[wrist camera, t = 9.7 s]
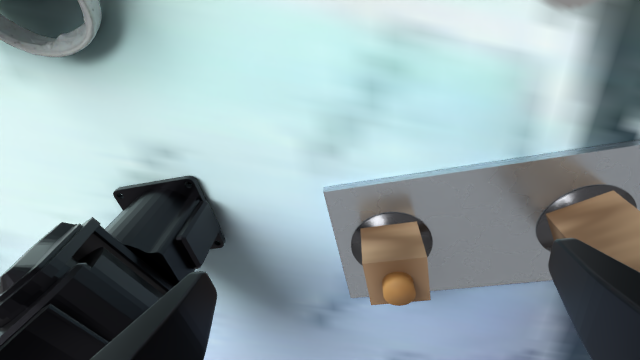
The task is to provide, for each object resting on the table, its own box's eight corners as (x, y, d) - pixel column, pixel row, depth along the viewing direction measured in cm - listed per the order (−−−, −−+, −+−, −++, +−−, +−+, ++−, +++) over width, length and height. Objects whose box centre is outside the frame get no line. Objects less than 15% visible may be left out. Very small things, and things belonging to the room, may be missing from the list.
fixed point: (368, 267, 26) (372, 317, 22) (360, 228, 24) (362, 276, 20) (420, 262, 25) (433, 312, 21) (416, 221, 23) (430, 269, 19)
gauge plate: (350, 292, 28) (350, 299, 28) (323, 187, 23) (323, 192, 22) (625, 267, 25) (631, 274, 24) (670, 135, 19) (680, 139, 19)
